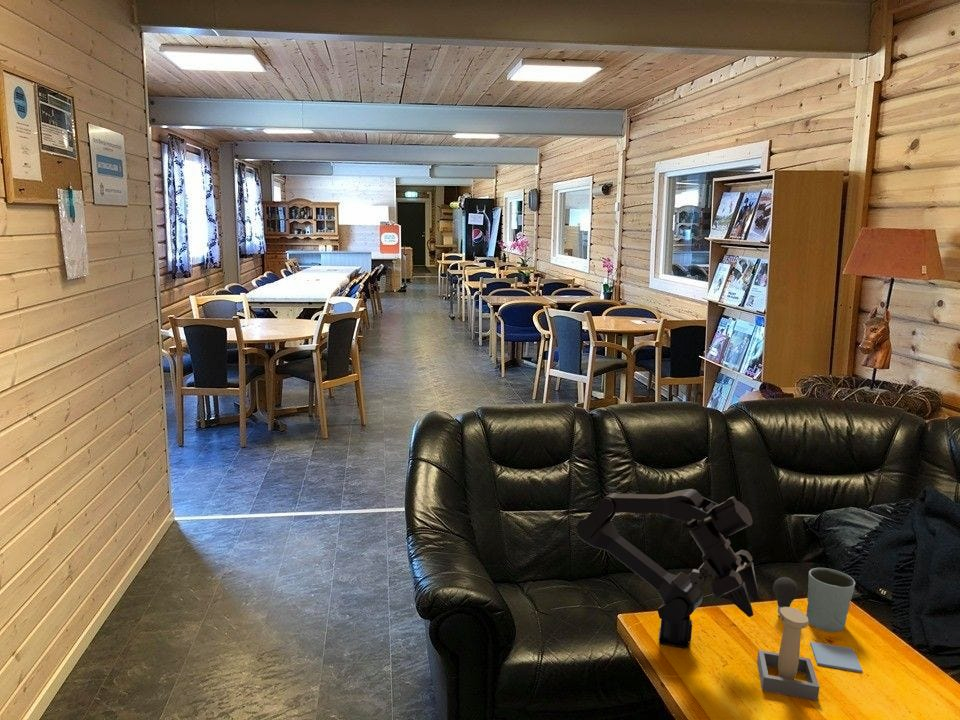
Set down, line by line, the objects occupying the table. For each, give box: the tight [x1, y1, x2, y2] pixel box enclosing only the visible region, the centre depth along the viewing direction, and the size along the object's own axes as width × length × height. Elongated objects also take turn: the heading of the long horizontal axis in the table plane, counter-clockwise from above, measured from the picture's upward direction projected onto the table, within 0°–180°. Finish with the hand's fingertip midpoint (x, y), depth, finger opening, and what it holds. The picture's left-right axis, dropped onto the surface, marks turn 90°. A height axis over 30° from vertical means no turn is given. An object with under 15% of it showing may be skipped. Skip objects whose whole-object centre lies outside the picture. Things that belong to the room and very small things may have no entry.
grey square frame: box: [756, 649, 820, 701], centre depth 152 cm, size 10×10×3 cm
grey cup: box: [805, 567, 856, 633], centre depth 176 cm, size 10×10×12 cm
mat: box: [809, 641, 864, 674], centre depth 162 cm, size 9×9×1 cm
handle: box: [777, 606, 809, 680], centre depth 151 cm, size 5×6×15 cm
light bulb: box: [772, 576, 799, 615], centre depth 178 cm, size 6×6×10 cm
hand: (754, 607), depth 156 cm, fingers open, 9 cm apart
